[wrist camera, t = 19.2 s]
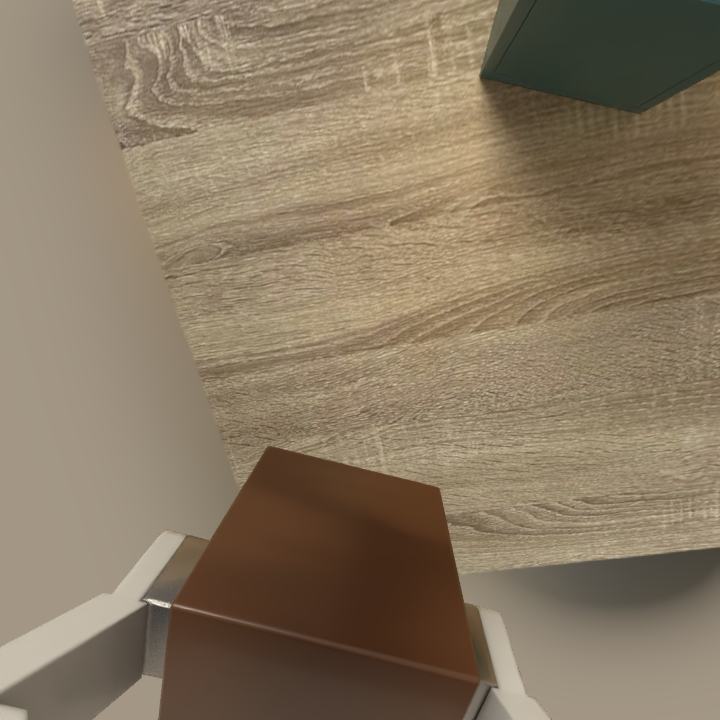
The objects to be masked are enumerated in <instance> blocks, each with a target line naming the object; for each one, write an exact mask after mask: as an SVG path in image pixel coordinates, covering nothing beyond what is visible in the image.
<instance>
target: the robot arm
mask: <svg viewBox="0 0 720 720" xmlns="http://www.w3.org/2000/svg"><path fill="white" fill-rule="evenodd" d="M208 543H209V540H205V539H202V538H198V537H194V536H191V535H185V534H181V533H178V532H175V531H170V530H166V531H164V532H163V533H161V534H160V535H159V536H158V538H157V539H156V540H155V541H154V543H153V544H152V545H151V546H150V547H149V549H148V550H147V551H146V553H145V554H144V555H143V556H142V557H141V559H140V560H139V561H138V562H137V564H136V565H135V566H134V567H133V569H132V570H131V571H130V572H129V574H128V575H127V576H126V577H125V579H124V580H123V581H122V582H121V584H120V585H119V586H118V587H117V589H116V590H115V591H114V592H113V593H112V594H110V593H103V594H101V595H99V596H97V597H95V598H93V599H91V600H90V601H87V602H85V603H83V604H82V605H80V606H78V607H76V608H74V609H72V610H70V611H68V612H66V613H64V614H63V615H61V616H59V617H57V618H55V619H53V620H51V621H49V622H47V623H45V624H43V625H41V626H40V627H38V628H36V629H34V630H32V631H30V632H28V633H26V634H24V635H22V636H20V637H19V638H17V639H15V640H13V641H11V642H9V643H7V644H5V645H3V646H1V647H0V720H92V719H93V718H95V717H96V716H97V715H98V714H99V713H100V712H102V711H103V710H104V709H105V708H106V707H108V706H109V705H110V704H111V703H112V702H113V701H115V700H116V699H117V698H118V697H119V696H121V695H122V694H123V693H124V692H125V691H126V690H128V689H129V688H130V687H131V686H132V685H134V684H135V683H136V682H137V681H138V680H139V679H141V677H142V674H144V675H148V676H153V677H158V678H163V671H164V662H165V653H166V643H167V634H168V625H169V615H170V607H171V603H172V602H173V600H174V598H175V597H176V595H177V593H178V592H179V590H180V588H181V587H182V585H183V584H184V582H185V580H186V579H187V577H188V575H189V574H190V572H191V571H192V569H193V567H194V566H195V564H196V562H197V561H198V559H199V558H200V556H201V554H202V553H203V551H204V549H205V548H206V546H207V545H208ZM464 605H465V609H466V614H467V619H468V623H469V628H470V633H471V637H472V642H473V646H474V651H475V656H476V660H477V665H478V670H479V674H480V685H479V688H478V690H477V692H476V694H475V696H474V698H473V700H472V702H471V705H470V707H469V709H468V711H467V713H466V715H465V717H464V719H463V720H552V719H551V718H550V716H549V715H548V714H547V713H546V711H545V710H544V709H543V708H542V706H541V705H540V704H539V703H538V701H537V700H536V699H535V698H532V697H529V696H527V693H526V690H525V687H524V684H523V681H522V677H521V675H520V671H519V668H518V665H517V662H516V659H515V656H514V653H513V649H512V646H511V643H510V640H509V637H508V634H507V631H506V628H505V624H504V621H503V618H502V616H501V614H500V613H499V612H498V611H497V610H493V609H488V608H484V607H480V606H474V605H472V604H468V603H464Z"/></svg>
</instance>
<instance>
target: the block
mask: <svg viewBox="0 0 720 720" xmlns="http://www.w3.org/2000/svg"><path fill="white" fill-rule="evenodd" d="M479 685H480V674H479V670H478V665H477V660H476V656H475V651H474V646H473V642H472V637H471V633H470V628H469V623H468V619H467V614H466V609H465V605H464V600H463V595H462V591H461V586H460V582H459V577H458V572H457V567H456V563H455V558H454V554H453V549H452V544H451V540H450V535H449V530H448V526H447V521H446V516H445V512H444V507H443V502H442V498H441V493H440V489H439V488H438V487H435V486H431V485H427V484H423V483H419V482H415V481H411V480H406V479H402V478H398V477H394V476H390V475H386V474H382V473H378V472H374V471H370V470H366V469H362V468H358V467H353V466H349V465H345V464H341V463H337V462H333V461H329V460H325V459H321V458H317V457H313V456H309V455H305V454H301V453H296V452H292V451H288V450H284V449H280V448H276V447H272V446H268V447H267V448H266V450H265V452H264V453H263V455H262V457H261V458H260V460H259V461H258V463H257V465H256V466H255V468H254V470H253V471H252V473H251V474H250V476H249V478H248V479H247V481H246V483H245V484H244V486H243V487H242V489H241V491H240V492H239V494H238V496H237V497H236V499H235V501H234V502H233V504H232V505H231V507H230V509H229V510H228V512H227V514H226V515H225V517H224V518H223V520H222V522H221V523H220V525H219V527H218V528H217V530H216V531H215V533H214V535H213V536H212V538H211V540H210V541H209V543H208V545H207V546H206V548H205V549H204V551H203V553H202V554H201V556H200V558H199V559H198V561H197V562H196V564H195V566H194V567H193V569H192V571H191V572H190V574H189V575H188V577H187V579H186V580H185V582H184V584H183V585H182V587H181V588H180V590H179V592H178V593H177V595H176V597H175V598H174V600H173V602H172V603H171V607H170V615H169V625H168V634H167V643H166V653H165V662H164V671H163V681H162V690H161V699H160V709H159V718H158V720H463V719H464V717H465V715H466V713H467V711H468V709H469V707H470V705H471V702H472V700H473V698H474V696H475V694H476V692H477V690H478V688H479Z"/></svg>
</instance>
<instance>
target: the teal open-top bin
mask: <svg viewBox="0 0 720 720" xmlns="http://www.w3.org/2000/svg"><path fill="white" fill-rule="evenodd" d="M719 70H720V0H500V1H499V4H498V8H497V12H496V16H495V19H494V23H493V27H492V31H491V34H490V38H489V42H488V45H487V49H486V53H485V57H484V60H483V64H482V68H481V72H480V75H479V77H482V78H486V79H490V80H495V81H499V82H503V83H508V84H512V85H517V86H521V87H525V88H530V89H534V90H538V91H543V92H547V93H552V94H556V95H560V96H565V97H569V98H574V99H578V100H582V101H587V102H591V103H595V104H600V105H604V106H609V107H613V108H617V109H622V110H626V111H631V112H635V113H639V114H641V113H643V112H645V111H647V110H648V109H650V108H652V107H654V106H656V105H657V104H659V103H661V102H663V101H665V100H667V99H668V98H670V97H672V96H674V95H676V94H677V93H679V92H681V91H683V90H685V89H687V88H688V87H690V86H692V85H694V84H696V83H698V82H699V81H701V80H703V79H705V78H707V77H709V76H710V75H712V74H714V73H716V72H718V71H719Z"/></svg>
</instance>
